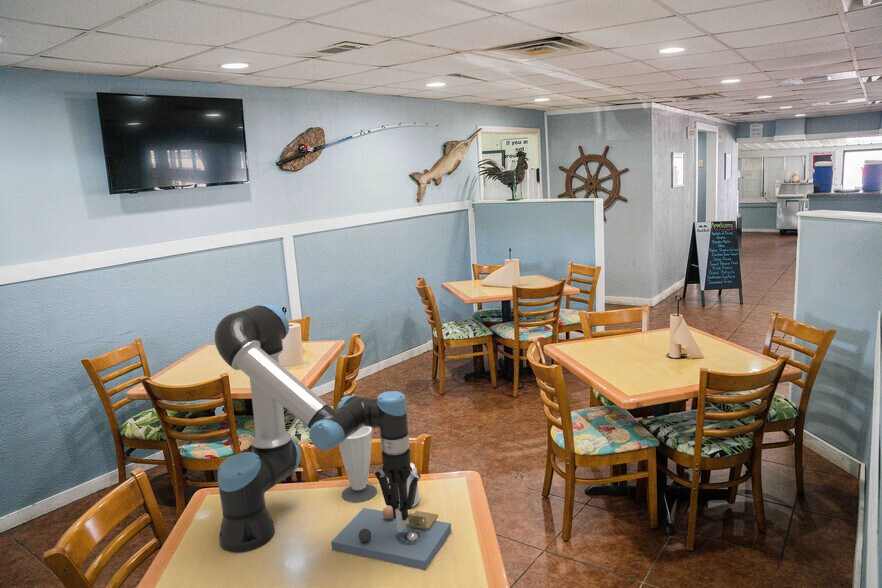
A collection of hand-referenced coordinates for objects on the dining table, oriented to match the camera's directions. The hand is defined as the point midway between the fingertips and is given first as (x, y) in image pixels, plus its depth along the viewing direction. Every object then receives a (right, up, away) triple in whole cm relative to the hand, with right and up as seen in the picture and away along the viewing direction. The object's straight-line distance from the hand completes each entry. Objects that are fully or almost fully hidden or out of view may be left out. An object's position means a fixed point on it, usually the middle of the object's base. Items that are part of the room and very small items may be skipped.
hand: (401, 529), depth 168 cm
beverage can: (0, 0, +21) cm, 21 cm away
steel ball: (+3, -2, -1) cm, 4 cm away
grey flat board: (-3, -4, +2) cm, 5 cm away
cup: (-15, 0, +29) cm, 32 cm away
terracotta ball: (-4, +2, +8) cm, 9 cm away
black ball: (-10, -1, -2) cm, 10 cm away
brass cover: (+5, 0, +6) cm, 8 cm away
